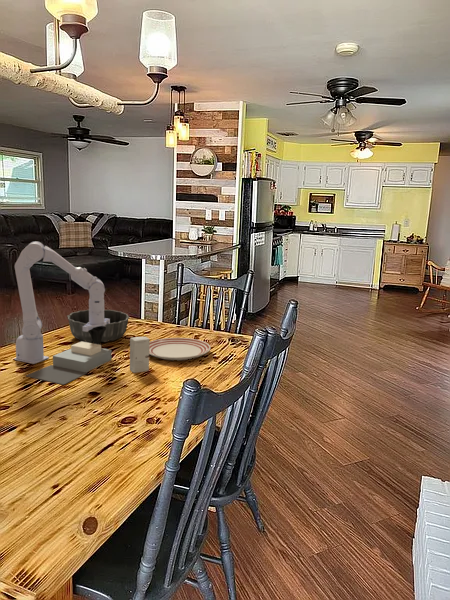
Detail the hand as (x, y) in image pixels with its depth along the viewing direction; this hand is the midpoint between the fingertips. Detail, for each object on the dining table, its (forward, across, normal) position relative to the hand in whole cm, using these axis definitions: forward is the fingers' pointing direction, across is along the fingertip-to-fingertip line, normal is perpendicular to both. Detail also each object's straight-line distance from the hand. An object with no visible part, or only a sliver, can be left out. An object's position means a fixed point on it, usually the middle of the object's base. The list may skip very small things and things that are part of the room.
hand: (96, 345), depth 181 cm
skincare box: (+5, -4, -22) cm, 23 cm away
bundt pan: (+5, +22, +15) cm, 27 cm away
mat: (+5, -22, 0) cm, 23 cm away
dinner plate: (+5, +20, -25) cm, 32 cm away
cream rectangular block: (+1, -6, 0) cm, 6 cm away
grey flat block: (+5, -8, 0) cm, 10 cm away
